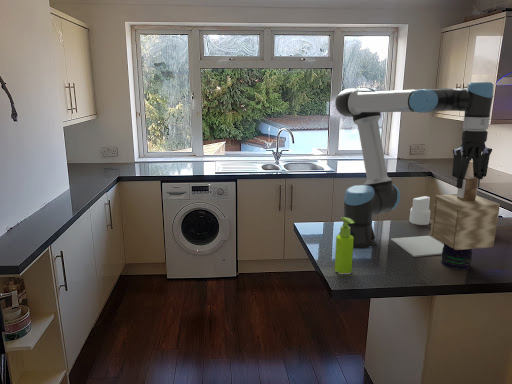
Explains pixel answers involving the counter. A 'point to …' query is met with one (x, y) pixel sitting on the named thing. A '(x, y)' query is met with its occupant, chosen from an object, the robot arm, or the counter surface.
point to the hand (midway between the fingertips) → (466, 196)
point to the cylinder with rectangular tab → (420, 211)
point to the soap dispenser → (344, 248)
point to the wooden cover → (465, 219)
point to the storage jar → (456, 258)
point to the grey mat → (420, 245)
